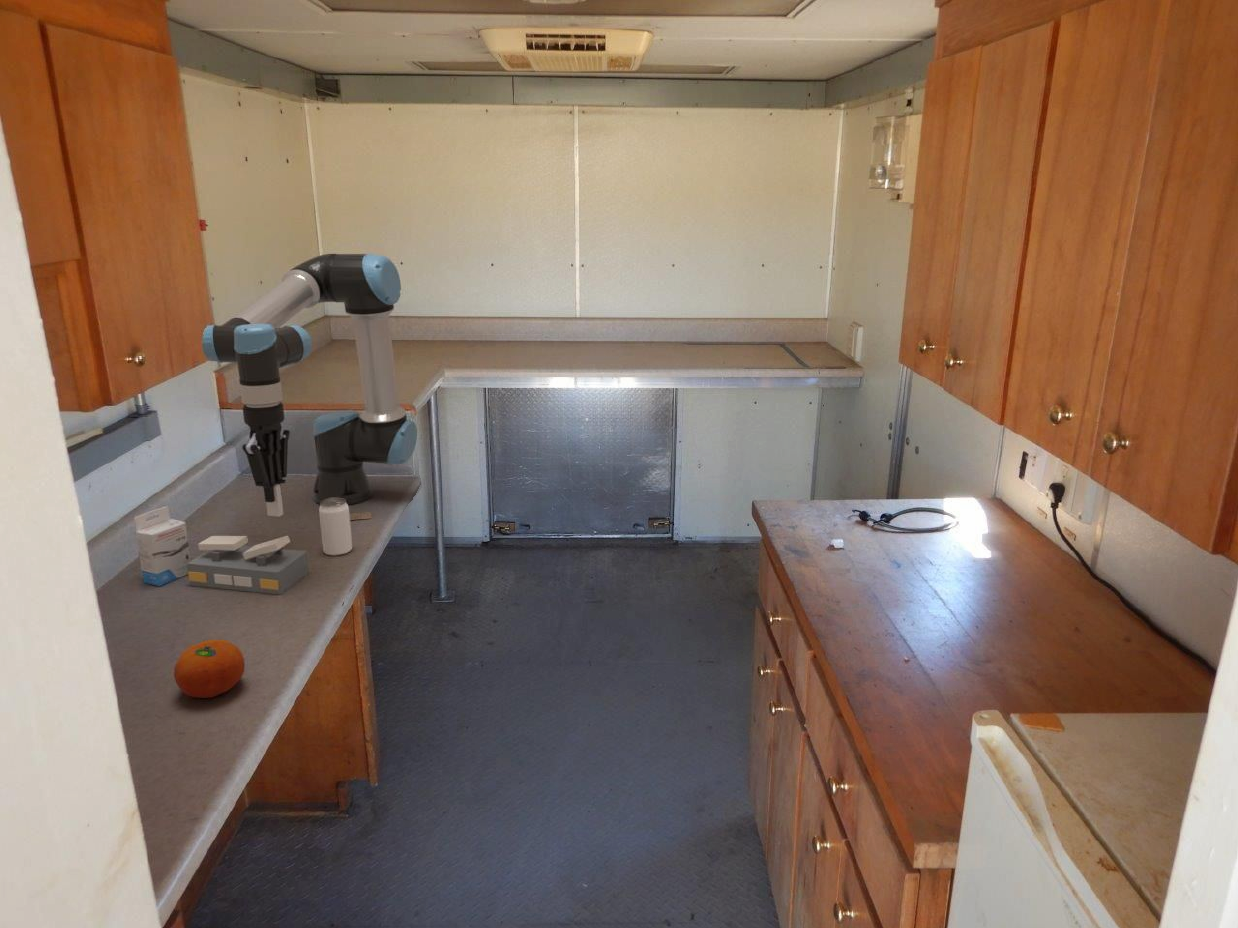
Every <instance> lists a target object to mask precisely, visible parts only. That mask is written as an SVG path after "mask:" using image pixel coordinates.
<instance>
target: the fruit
mask: <svg viewBox="0 0 1238 928" xmlns="http://www.w3.org/2000/svg"><path fill="white" fill-rule="evenodd" d="M245 667H246V666H245V658H244V655H243V653H242V650H241V649H240V648H239V647H238V646H236V645H235V644H234V643H232V642H230V641H229V640H225V639H219V638H218V639H209V640H208V639H207V640H204V641H201V642H198V643H196V644H193V645H191V646H189V647H188V648H186V649H185V650H183V652H182V653H180V655H179V657H178V659H177V661H176V663H175V667H174V671H173V676H174V679H175V682H176V685H177V686H178V688H179V690H180V691H182V692H183V693H184V694H185V695H187V696H189V697H192V698H201V699H202V698H203V699H205V698H206V699H209V698H214V697H217V696H218V695H221V694H223V693H226V692H228V691H229V690H230V689H232V688H233V687H234V686H235V685H236V684H237V683H238V682H239V681H240V679H241V678H242V677H243V674H244V672H245Z"/></svg>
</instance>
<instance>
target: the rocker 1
mask: <svg viewBox="0 0 1238 928" xmlns="http://www.w3.org/2000/svg"><path fill="white" fill-rule="evenodd" d="M248 543H249V538H248V536H247V535H211V536H209V537H208V538H206V539H204V540H203V541H201V542H199V543H198V549H199V551H208V550H214V552H220V553H221V555H222V554H224V553H226V552H227V551H229V550H237V549H238V548H240V547H241V546H246V544H248Z"/></svg>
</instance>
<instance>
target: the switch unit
mask: <svg viewBox="0 0 1238 928" xmlns="http://www.w3.org/2000/svg"><path fill="white" fill-rule="evenodd" d="M252 547H253V546H251V545H243V546H241V547H240V548H238V549H237V550H229V551H227V552H226V553H224V554H222V555H221V553H220V552H214V550H205V552H203V553H202V554H200V555H198V556H197V557H195V558H193V559H192V560H191V561H190V562H188V563H187V569H188V574H187V575H188V580H189V586H194V587H201V588H202V587H204V588H212V589H213V588H214V589H223V590H232V591H242V592H250V593H260V594H268V595H269V594H270V595H279V596H281V595H283V594H284V593H285V592H286V591H287V590H289V589H291V588H292V587H293V586H294V585H296V584H297V583H299V581H300V580H302V579H303V578H305V577H306V576H307V575H309V574H310V567H309V561H308V560H309V559H308V551H306V550H305V551H304V550H303V551H302V550H295V549H294V550H293V549H283V547H282V548H280V550H278V551H277V552H275V553H274V554H272V555H271V556H269V557H268V558H266V557H265V556H255V557H252V558H249V559H245V558H244V556H243V554H242V553H244V552H245V551H247V550H248V549H250V548H252Z"/></svg>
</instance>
